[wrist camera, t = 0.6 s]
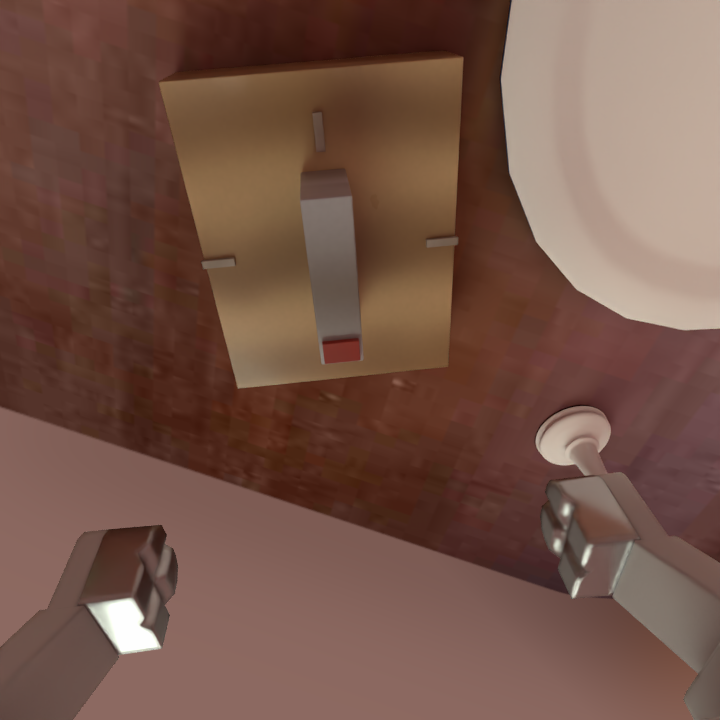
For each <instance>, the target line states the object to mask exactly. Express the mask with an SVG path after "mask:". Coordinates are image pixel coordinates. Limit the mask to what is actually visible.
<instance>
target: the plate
mask: <svg viewBox="0 0 720 720" xmlns="http://www.w3.org/2000/svg"><path fill="white" fill-rule="evenodd" d="M500 87H501V98H502V109H503V120H504V130H505V141H506V152H507V163H508V172H509V175H510V177H511V180H512V182H513V185H514V188H515V190H516V193H517V195H518V198H519V200H520V203H521V205H522V208H523V211H524V213H525V216H526V218H527V221H528V223H529V226H530V229H531V231H532V234H533V236H534V239H535V241H536V242H537V243H538V245H539V246H540V247H541V248H542V249H543V251H544V252H545V253H546V254H547V255H548V256H549V258H550V259H551V260H552V261H553V262H554V264H555V265H556V266H557V267H558V268H559V269H560V271H561V272H562V273H563V274H564V275H565V277H566V278H567V279H568V280H569V281H570V282H571V284H572V285H573V286H574V287H575V288H576V290H578V291H580V292H582V293H583V294H585V295H587V296H589V297H590V298H592V299H594V300H596V301H597V302H599V303H601V304H603V305H604V306H606V307H608V308H609V309H611V310H613V311H615V312H616V313H618V314H620V315H622V316H623V317H625V318H628V319H632V320H637V321H642V322H647V323H652V324H656V325H661V326H666V327H671V328H675V329H680V330H699V329H718V328H720V0H510V7H509V15H508V22H507V29H506V36H505V44H504V51H503V58H502V65H501V73H500Z"/></svg>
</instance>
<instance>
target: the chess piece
mask: <svg viewBox="0 0 720 720" xmlns="http://www.w3.org/2000/svg"><path fill="white" fill-rule="evenodd" d="M610 434H611V427H610V424H609V422H608V421H607V418H606V416H605V414H604V413H603V412H602V411H600V410H599V409H597V408H594V407H590V406H576V407H571V408H567V409H564V410H562V411H560V412H558V413H556V414H554V415H553V416H551V417H550V418H549V419H548V420H546V421H545V422H544V423H543V425H542V426H541V427H540V429H539V431H538V433H537V435H536V447H537V449H538V451H539V452H540V453H541V454H542V456H543V457H544V458H545V459H546V460H547V461H549V462H551V463H554V464H558V465H572V464H576V465H577V466H578V468H579V469H580V470H581V471H582V473H583V474H584V475H585V476H588V475H600V474H608V473H607V471H606V469H605V467H604V465H603V463H602V460H601V458H600V456H599V454H598V453H599V452H600V451H601V450H602V449H603V448H604V446H605V445H606V444H607V442H608V440H609V438H610Z"/></svg>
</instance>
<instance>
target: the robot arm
mask: <svg viewBox="0 0 720 720" xmlns="http://www.w3.org/2000/svg"><path fill="white" fill-rule="evenodd" d="M545 493H546V495H547V497H548V499H549V500H548V501H547V502H546V503H545V504H544V505H543V506H542V510H541V516H540V518H541V528H542V532H543V535H544V539H545V541H546V544H547V546H548V548H549V550H550V551H551V552H553V553H554V554H555V555H557V556H558V557H559V558H561V559H560V563H559V567H558V570H559V573H560V575H561V577H562V579H563V581H564V583H565V586H566V588H567V590H568V592H569V594H570V596H571V599H574V598H585V597H596V596H607V595H613V598H614V599H615V600H616V601H617V602H618V603H619V604H621V605H622V606H623V607H624V608H625V609H626V610H627V611H628V612H630V613H631V614H632V615H633V616H634V617H635V618H636V619H638V620H639V621H640V622H641V623H642V624H643V625H644V626H645V627H646V628H648V629H649V630H650V631H651V632H652V633H653V634H654V635H655V636H657V637H658V638H659V639H660V640H661V641H662V642H663V643H664V644H666V645H667V646H668V647H669V648H670V649H671V650H672V651H673V652H675V653H676V654H677V655H678V656H679V657H680V658H681V659H682V660H683V661H685V662H686V663H687V664H688V665H689V666H690V667H691V668H692V669H694V670H695V671H696V672H697V673H698V675H697V677H696V678H695V680H694V681H693V683H692V684H691V686H690V687H689V689H688V690H687V692H686V694H685V697H684V702H685V704H686V705H687V707H688V709H689V711H690V713H691V715H692V717H693V718H694V720H720V563H719V562H717V561H716V560H714V559H713V558H711V557H709V556H708V555H706V554H704V553H703V552H701V551H700V550H698V549H696V548H695V547H693V546H691V545H690V544H688V543H687V542H685V541H683V540H682V539H680V538H678V537H677V536H668V535H667V533H666V532H665V531H664V529H663V528H662V526H661V525H660V523H659V522H658V521H657V519H656V518H655V516H654V515H653V513H652V512H651V511H650V509H649V508H648V506H647V505H646V503H645V502H644V501H643V499H642V498H641V496H640V495H639V494H638V492H637V491H636V489H635V488H634V486H633V485H632V484H631V482H630V481H629V479H628V478H627V476H626V475H624V474H623V473H621V472H618V473H609V474H600V475H588V476H580V477H572V478H564V479H556V480H550V481H549V482H548V484H547V486H546V491H545ZM165 540H166V533H165V531H164V529H163V527H162V525H155V526H144V527H132V528H120V529H109V530H99V531H89V532H84V533H83V534H82V535H81V536H80V537H79V539H78V540H77V542H76V544H75V546H74V549H73V551H72V553H71V556H70V558H69V560H68V562H67V565H66V567H65V569H64V572H63V574H62V576H61V578H60V581H59V583H58V585H57V588H56V590H55V592H54V595H53V597H52V599H51V601H50V604H49V606H48V609H46V610H40V611H38V612H37V613H36V614H35V615H34V616H33V617H32V618H31V619H30V620H29V621H28V622H27V623H25V624H24V625H23V626H22V627H21V628H20V629H19V630H18V631H17V632H16V633H15V634H14V635H13V636H12V637H11V638H9V639H8V640H7V641H6V642H5V643H4V644H3V645H2V646H1V647H0V720H73V719H74V718H75V716H76V715H77V714H78V712H79V711H80V709H81V708H82V707H83V705H84V704H85V703H86V701H87V700H88V699H89V697H90V696H91V695H92V693H93V692H94V691H95V689H96V688H97V686H98V685H99V684H100V683H101V681H102V680H103V679H104V677H105V676H106V675H107V673H108V672H109V670H110V669H111V668H112V666H113V665H114V664H115V662H116V661H117V660H118V658H119V656H118V655H121V654H127V653H134V652H140V651H147V650H154V649H160V648H162V646H163V642H164V637H165V633H166V629H167V625H168V621H169V616H170V615H169V613H168V611H167V609H166V607H165V604H166V603H167V602H168V601H169V600H170V599H171V597H172V596H173V595H174V594H175V589H176V584H177V572H178V565H177V559H176V555H175V552H174V550H173V548H171V547H170V546H168V545H166V544H165Z"/></svg>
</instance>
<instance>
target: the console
mask: <svg viewBox="0 0 720 720" xmlns="http://www.w3.org/2000/svg"><path fill="white" fill-rule="evenodd" d="M462 79H463V57H462V56H459V55H456V54H453V53H450V52H448V51H445V50H442V51H430V52H417V53H405V54H392V55H380V56H368V57H355V58H343V59H331V60H318V61H306V62H294V63H281V64H269V65H257V66H244V67H232V68H219V69H207V70H195V71H182V72H175V73H174V74H172V75H170V76H168V77H166V78H165V79H163V80H161V81H159V87H160V90H161V94H162V98H163V102H164V106H165V110H166V114H167V117H168V121H169V125H170V129H171V133H172V137H173V141H174V144H175V148H176V152H177V156H178V160H179V164H180V168H181V171H182V175H183V179H184V183H185V187H186V191H187V195H188V198H189V202H190V206H191V210H192V214H193V218H194V222H195V225H196V229H197V233H198V237H199V241H200V245H201V249H202V252H203V256H204V260H202V261H201V262H202V266H203V269H207V272H208V276H209V279H210V283H211V287H212V291H213V295H214V299H215V302H216V306H217V310H218V314H219V318H220V322H221V326H222V329H223V333H224V337H225V341H226V345H227V349H228V353H229V356H230V360H231V364H232V368H233V372H234V376H235V380H236V383H237V387H238V388H248V387H258V386H268V385H277V384H287V383H296V382H306V381H315V380H325V379H335V378H344V377H354V376H363V375H373V374H382V373H392V372H401V371H411V370H421V369H430V368H440V367H448V365H449V345H450V325H451V304H452V284H453V263H454V245H458V236H455V222H456V202H457V181H458V161H459V140H460V120H461V99H462ZM343 168H344V169H345V170H346V173H347V178H348V182H349V186H350V190H351V194H352V201H353V215H354V229H355V243H356V257H357V271H358V285H359V299H360V313H361V328H362V342H363V356H364V359H363V360H362V361H352V362H343V363H333V364H321V357H320V350H319V342H318V335H317V327H316V319H315V312H314V304H313V297H312V289H311V281H310V274H309V266H308V259H307V251H306V243H305V236H304V228H303V221H302V213H301V206H300V174H301V172H309V171H320V170H332V169H343Z"/></svg>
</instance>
